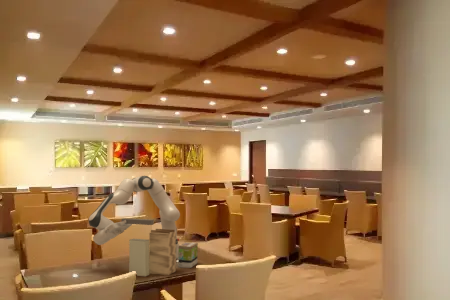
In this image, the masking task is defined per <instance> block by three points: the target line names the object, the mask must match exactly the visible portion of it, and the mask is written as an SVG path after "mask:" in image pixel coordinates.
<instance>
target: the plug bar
mask: <svg viewBox="0 0 450 300" xmlns="http://www.w3.org/2000/svg"><path fill="white" fill-rule="evenodd" d="M124 220H127V223H125V224H132V225H140V226H141V225H142V226H143V225H144V226H152V225H154V224H155V222H154V219H149V218H148V219H146V218H121V222H122V221H124Z"/></svg>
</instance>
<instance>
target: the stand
mask: <svg viewBox="0 0 450 300" xmlns="http://www.w3.org/2000/svg"><path fill="white" fill-rule="evenodd" d="M148 234H149V236H148V237H149V239H148V240H149V274H154V275H165V276H170V275H171V274H173V273H175V272H177V270H176V269H177V259H176V232H175V230H170V229H162V228H155V230H154V229H150V232H149V233H148Z"/></svg>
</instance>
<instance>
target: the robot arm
mask: <svg viewBox="0 0 450 300" xmlns="http://www.w3.org/2000/svg"><path fill="white" fill-rule="evenodd" d="M144 191H147V192H148V193H149V196H150V197H151V199H152V201H153V203H154V204H155V206H157V209H159V212H158V214H159V217H160V224H161V229H170V230H175V232H176V260H178V257H179V246H180V245H181V244H179V242H180V238H179V237H178V236H177V235H178V231H177V228H178V227H177V225H176V221H178V220H179V219H180V216H181V213H180V211H179V209H178V208H177V207H176V205H175V204H174V202H173V201H172V200H171V198H170V197H169V195H168V194H167V192H166V190H165V188H164V187H163V185H162V184H161V183H160V181H159V180H158V179H157V178H154V177H153V178H151V177H149V176H147V175H141V176H140V175H139V176H136V177H134V178H124V179H123V180H122V181H121V182H120V184H119V185H118V186H117V188H116V190H115V191H114V192H113V193H109V194H108V195H107V196H106V197H105V198H104V199H103V201H102V202H101V203H100V205H99V206H98V207H97V208H96V209H95V210H94V211H93V213H92V214H90V215H89V217H88V225H89V226H90V227H92V228H94V229H96V230H98V231H97V233H95V234H94V235H93V237H92V240H93V242H94V243H95V244H96V245H98V246H102V245H104V244H106V243H108V242H110V240H111V239H114V238H115V237H117V236H119V235H120V234H123V233H125V231H126V230H127V229H129V228H130V227H132V225H133V224H125V223H127V220H124V221H122V220H121V221H119V222H114V221H113V220H111V219H110V218H108V217H107V216H105V215H103V214H104V213H105V211H107V208H108V207H109V206H110V205H113V204H114V205H124V204H126V203H128V201H130V198H131V196H132V195H133V193H135V192H136V193H138V192H139V193H140V192H144Z"/></svg>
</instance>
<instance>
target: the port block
mask: <svg viewBox="0 0 450 300" xmlns="http://www.w3.org/2000/svg"><path fill="white" fill-rule="evenodd" d="M128 243H129V244H128V245H129V247H128V248H129V250H128V251H129V261H128V263H129V267H128V268H129V269H128V270H129V271H128V272H132V271H136V273H137V276H139V277H147V276H149V275H150V273H149V239H144V238H130V239H129V241H128Z"/></svg>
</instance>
